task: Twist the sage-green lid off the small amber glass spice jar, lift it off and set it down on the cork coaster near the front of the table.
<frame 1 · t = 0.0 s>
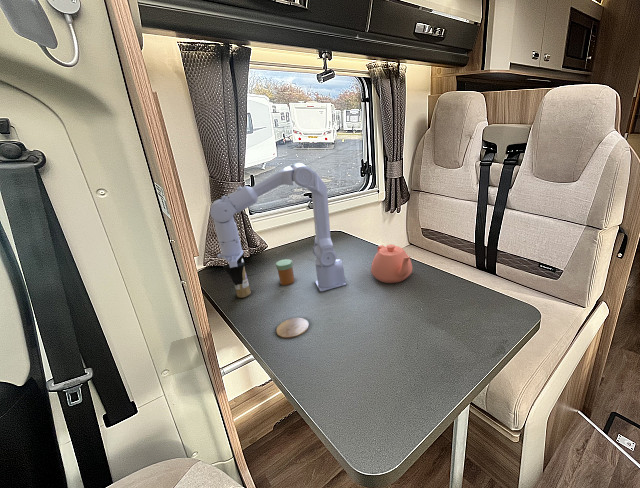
hand: (238, 278, 101), 10 cm above the table, tool pointing down, fingers open, 7 cm apart
jar: (287, 281, 119), on the table
teapot: (393, 277, 120), on the table
coaster: (292, 328, 92), on the table
lid: (284, 263, 116), point 8 cm above the table, screwed on, not yet turned
sprinkles bottle: (244, 295, 111), on the table
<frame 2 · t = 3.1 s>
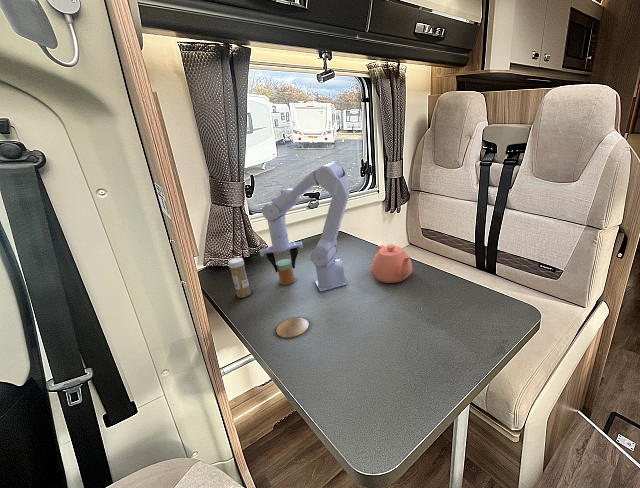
hand: (285, 269, 117), 5 cm above the table, tool pointing down, fingers closed on lid, 5 cm apart
lid: (284, 263, 116), point 8 cm above the table, screwed on, not yet turned, touching gripper
everything else where it was.
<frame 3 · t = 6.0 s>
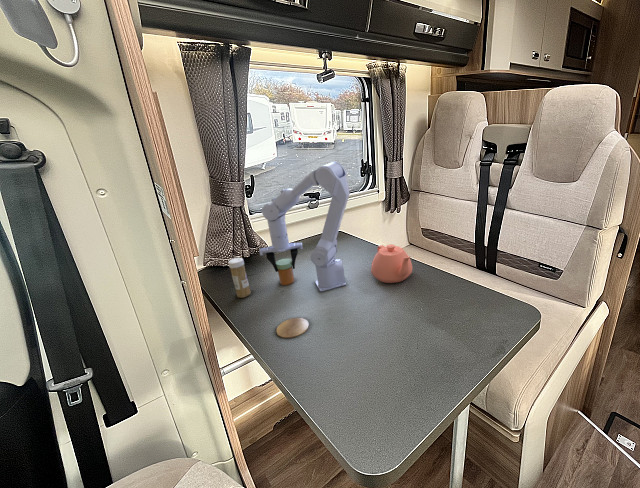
hand: (285, 269, 117), 5 cm above the table, tool pointing down, fingers closed on lid, 5 cm apart
jar: (287, 281, 119), on the table, touching gripper
lid: (284, 262, 116), point 8 cm above the table, off its thread, touching gripper
everything else where it was.
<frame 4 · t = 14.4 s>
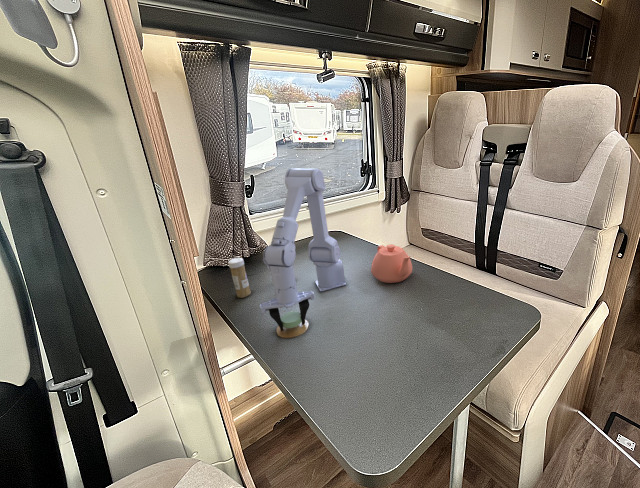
hand: (292, 325, 92), 1 cm above the table, tool pointing down, fingers closed on lid, 5 cm apart
jar: (287, 281, 119), on the table
lid: (291, 318, 91), point 3 cm above the table, off its thread, touching gripper
everything else where it was.
when the fingers open (2 cm above the table, at t = 21.7 s): lid drops 2 cm, resting on coaster.
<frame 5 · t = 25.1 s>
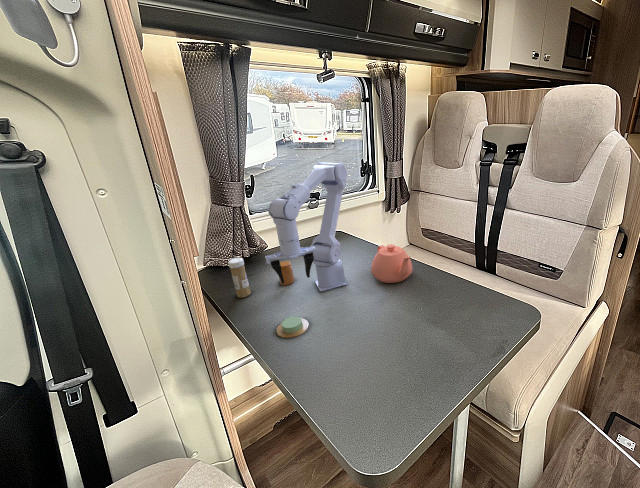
hand: (295, 279, 99), 10 cm above the table, tool pointing down, fingers open, 7 cm apart
lid: (291, 322, 92), point 2 cm above the table, off its thread, touching coaster
everything else where it was.
at the end: lid inside the target area on the coaster (0.0 cm from its centre), point 1.8 cm above the coaster's base; lid point 1.8 cm above the table; the gripper is holding nothing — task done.
